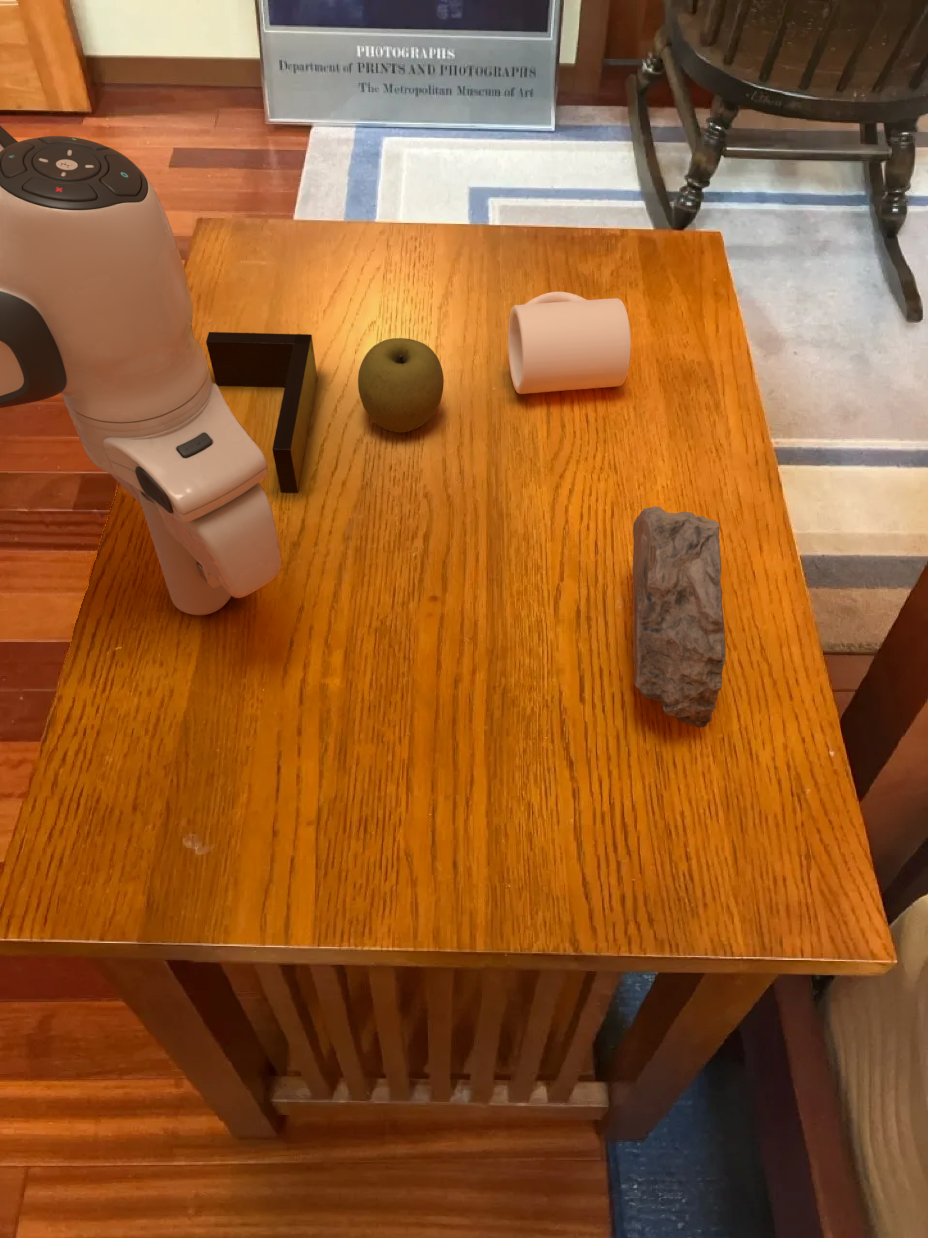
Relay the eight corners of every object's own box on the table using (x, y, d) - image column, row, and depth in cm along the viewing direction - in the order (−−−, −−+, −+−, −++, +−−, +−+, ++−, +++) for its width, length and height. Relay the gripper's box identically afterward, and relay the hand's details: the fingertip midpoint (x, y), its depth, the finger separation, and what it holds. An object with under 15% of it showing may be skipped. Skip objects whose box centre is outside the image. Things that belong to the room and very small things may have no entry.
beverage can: (167, 580, 74) (132, 467, 65) (228, 567, 75) (201, 453, 66) (176, 625, 71) (141, 513, 62) (239, 611, 73) (213, 498, 63)
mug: (622, 403, 88) (636, 332, 82) (519, 411, 88) (526, 340, 81) (594, 327, 96) (605, 256, 89) (498, 333, 95) (503, 262, 88)
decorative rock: (705, 750, 66) (763, 624, 54) (611, 739, 66) (648, 611, 54) (699, 575, 76) (747, 435, 64) (617, 566, 76) (649, 425, 64)
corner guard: (188, 490, 80) (174, 446, 76) (219, 375, 90) (208, 331, 86) (297, 492, 81) (290, 449, 77) (317, 377, 90) (311, 334, 86)
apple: (455, 402, 88) (456, 338, 82) (422, 456, 84) (421, 393, 78) (382, 382, 90) (378, 318, 84) (346, 434, 85) (339, 370, 79)
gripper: (21, 356, 62) (85, 501, 73) (193, 523, 53) (236, 660, 64) (106, 317, 65) (155, 464, 76) (283, 471, 56) (309, 611, 67)
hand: (193, 555), depth 70 cm, fingers closed on beverage can, 5 cm apart
